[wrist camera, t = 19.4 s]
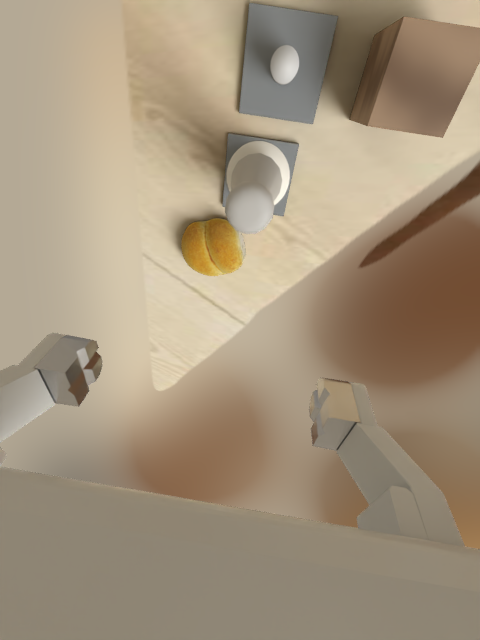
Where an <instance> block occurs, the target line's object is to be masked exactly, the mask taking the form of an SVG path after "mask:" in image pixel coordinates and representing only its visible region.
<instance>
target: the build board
mask: <svg viewBox="0 0 480 640" xmlns="http://www.w3.org/2000/svg"><path fill="white" fill-rule="evenodd" d="M298 147H299V144H297V143H290V142H284V141H277V140H271V139H264V138H258V137H252V136H245V135H239V134H232V133H228V142H227V155H226V168H225V181H224V194H223V207H225V206H226V199H227V197H228V195H229V193H230V192H231V177H232V171H233V170H234V168H235V166H236V164H237V162H238V161H239V160H241V159H242V158H244V157H245V156H247V155H248V154H256V153H262V154H264V155H266V156H268V157H270V158H272V159H273V160H274V162H275V163H276V164H277V165H278V167H279V168H280V172H281V177H282V185H281V190H280V193H279V195H278V196H277V197H276V199H275V200H274V212H273V215H279V216H284V212H285V207H286V202H287V198H288V193H289V188H290V184H291V179H292V175H293V170H294V165H295V161H296V156H297V151H298Z"/></svg>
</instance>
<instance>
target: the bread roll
mask: <svg viewBox="0 0 480 640" xmlns="http://www.w3.org/2000/svg"><path fill="white" fill-rule="evenodd" d="M181 248H182V254H183V257H184V259H185V261H186V262H187V264H188V265H189V266H190V267H191V268H192V269H194V270H195V271H197V272H199V273H201V274H204V275H208V276H218V275H223V274H228V273H232V272H234V271H235V270H237V269H238V268H240V267H241V265H242V264H243V261H244V258H245V255H246V250H245V243H244V239H243V236H242V232H239V231H237V230H235V229H234V228H233V226H232V225H231V224H230V223H229V221H228V220H226V219H220V218H214V219H211V220H208V221H198V222H194V223H191V224H190V225H189V226H188V227H187V228H186V230H185V232H184V234H183V237H182V245H181Z"/></svg>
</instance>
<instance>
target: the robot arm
mask: <svg viewBox="0 0 480 640" xmlns="http://www.w3.org/2000/svg"><path fill="white" fill-rule="evenodd" d="M98 348H99V347H98V345H97V342H96V341H94V340H90V339H85V338H79V337H74V336H69V335H63V334H57V333H51V334H49V335H47V336H46V337H45V338H44V339H43V340H42V341H41V342H40V343H39V344H38V346H36V348H35V349H33V350H32V352H31V353H30V354H29V355H28V356H27V357H26V358H25V359H24V360H23V361H22V362H21V363H20V364H19V365H18V366H15V365H12V366H10V367H8V368H6V369H3V370H1V371H0V442H2V441H3V440H4V439H6V438H7V437H9V436H10V435H12V434H13V433H15V432H16V431H18V430H19V429H20V428H22V427H23V426H25V425H26V424H27V423H29V422H31V421H32V420H33V419H35V418H36V417H38V416H39V415H40V414H42V413H44V412H45V411H46V410H48V409H49V408H51V407H52V406H54V405H55V403H57V404H64V405H72V406H80V404H81V403H82V401H83V400H84V398H85V397H86V395H87V394H88V392H89V387H88V385H90V384H91V383H93V382H95V381H96V380H97V378H98V376H99V375H100V372H101V369H102V359H101V356H100V355H99V354H98V353H97V352H96V350H97V349H98ZM309 408H310V409H309V412H310V418H311V419H312V420H313V422H314V423H313V425H312V427H311V434H312V444H313V446H315V447H320V448H325V449H331V450H335V451H337V454H338V455H339V457H340V458H341V460H342V462H343V463H344V465H345V467H346V468H347V470H348V471H349V473H350V475H351V476H352V478H353V479H354V481H355V483H356V484H357V486H358V487H359V489H360V491H361V492H362V494H363V495H364V497H365V499H366V500H367V502H368V503H369V505H370V506H368V507H367V508H366V509H365V510H364V511H363V512H362V513H361V514H359V516H358V517H357V523H358V528H353V527H347V526H342V525H336V524H330V523H325V522H319V521H313V520H307V519H301V518H295V517H290V516H284V515H278V514H272V513H267V512H261V511H255V510H249V509H243V508H238V507H232V506H225V505H220V504H214V503H209V502H203V501H197V500H191V499H186V498H180V497H174V496H168V495H162V494H157V493H151V492H145V491H139V490H133V489H128V488H121V487H116V486H110V485H104V484H99V483H93V482H87V481H81V480H75V479H70V478H63V477H58V476H52V475H46V474H41V473H34V472H28V471H22V470H17V469H12V468H6V467H0V640H480V549H475V548H469V547H465V545H464V543H463V541H462V538H461V536H460V533H459V531H458V528H457V526H456V523H455V521H454V518H453V516H452V514H451V511H450V509H449V506H448V504H447V501H446V499H445V496H444V494H443V493H442V491H441V490H440V489H439V488H438V487H437V486H436V485H435V484H434V483H433V482H432V481H431V479H430V478H429V477H428V476H427V475H426V474H425V473H424V472H423V471H422V470H421V469H420V468H419V467H418V466H417V464H416V463H415V462H414V461H413V460H412V459H411V458H410V457H409V456H408V455H407V454H406V452H405V451H404V450H403V449H402V448H401V447H400V446H399V445H398V444H397V443H396V442H395V441H394V439H393V438H392V437H391V436H390V435H389V434H388V433H387V432H386V431H385V430H384V429H383V428H382V427H379V426H377V422H376V419H375V416H374V412H373V409H372V406H371V403H370V399H369V396H368V393H367V389H366V387H365V385H363V384H358V383H352V382H347V381H340V380H334V379H327V378H320V379H319V380H318V383H317V390H315V391H314V392H313V394H312V396H311V399H310V406H309ZM5 459H6V453H5V452H4V451H3V450H2V449H1V447H0V465H1V464H2V463H3V461H4V460H5Z"/></svg>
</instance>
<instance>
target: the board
mask: <svg viewBox="0 0 480 640" xmlns="http://www.w3.org/2000/svg"><path fill="white" fill-rule="evenodd" d="M337 19H338V16H334V15H327V14H320V13H314V12H307V11H300V10H294V9H287V8H280V7H274V6H267V5H261V4H254V3H249V13H248V24H247V35H246V45H245V56H244V66H243V77H242V87H241V98H240V109H239V113H243V114H250V115H256V116H262V117H269V118H275V119H282V120H288V121H295V122H301V123H308V124H313V122H314V117H315V113H316V109H317V105H318V100H319V96H320V92H321V87H322V83H323V79H324V75H325V70H326V66H327V62H328V57H329V53H330V49H331V45H332V40H333V36H334V32H335V27H336V23H337Z"/></svg>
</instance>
